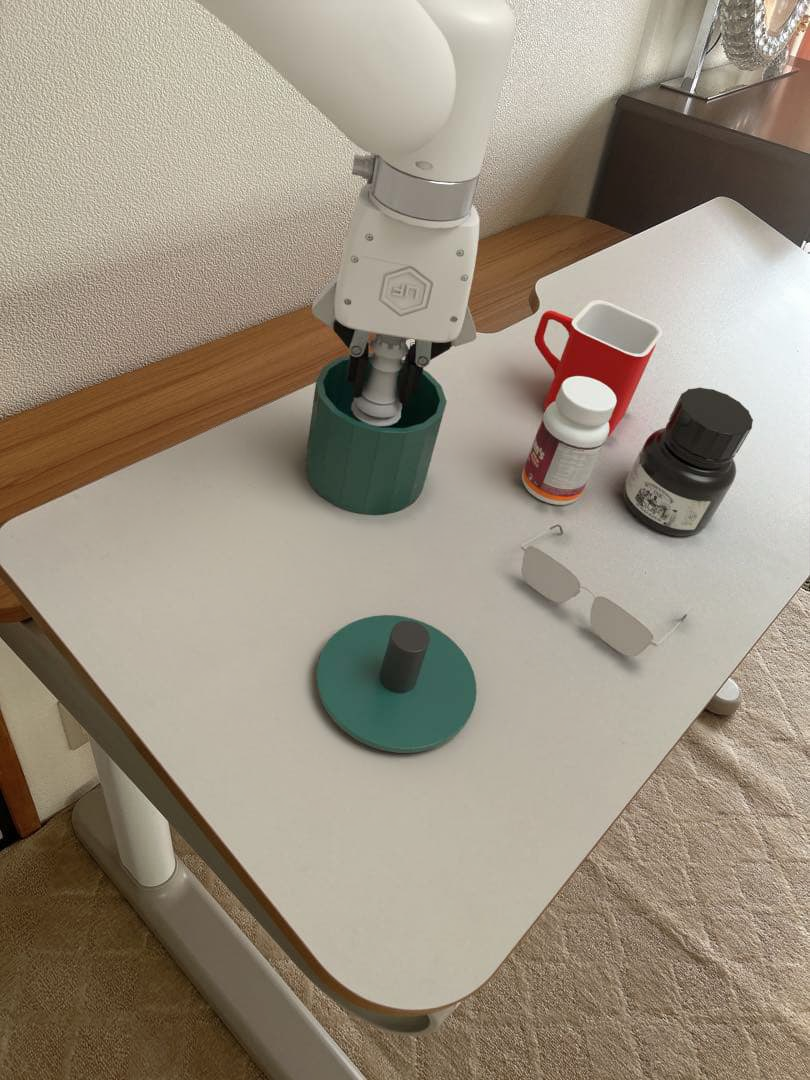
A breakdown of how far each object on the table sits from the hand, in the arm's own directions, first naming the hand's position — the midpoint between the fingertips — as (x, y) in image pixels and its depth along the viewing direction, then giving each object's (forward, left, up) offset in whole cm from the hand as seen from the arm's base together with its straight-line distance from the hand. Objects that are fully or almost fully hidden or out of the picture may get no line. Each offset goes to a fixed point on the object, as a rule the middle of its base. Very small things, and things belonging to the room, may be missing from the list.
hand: (380, 390), depth 76 cm
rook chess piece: (0, 0, -3) cm, 3 cm away
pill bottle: (+14, +12, -10) cm, 21 cm away
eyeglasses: (+24, +2, -10) cm, 26 cm away
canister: (0, 0, -10) cm, 10 cm away
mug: (+9, +26, -10) cm, 29 cm away
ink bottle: (+24, +18, -10) cm, 32 cm away
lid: (+16, -18, -9) cm, 26 cm away
